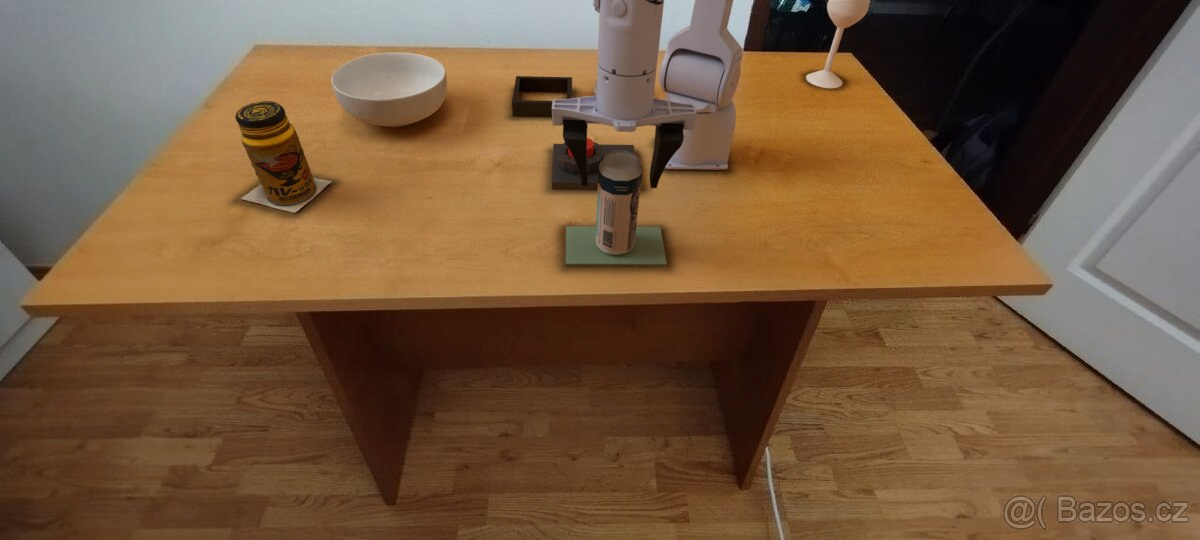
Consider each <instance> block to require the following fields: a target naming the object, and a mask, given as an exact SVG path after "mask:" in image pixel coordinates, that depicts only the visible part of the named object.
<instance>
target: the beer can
mask: <svg viewBox="0 0 1200 540" xmlns="http://www.w3.org/2000/svg"><path fill="white" fill-rule="evenodd" d="M642 178H643V165H642V164H641V162H640V159H639V158H638V157H637V155H636V154H635V155H634V154H632V153H629V152H627V151H613V152H610V153H608V154H606V155H605V157H604V158H603V160H602V161H601V163H600V164H599V170H598V190H597V193H596V194H597V195H596V219H595V227H596V239H595V241H596V245H597V246H598V248H599V249H601V250H602V251H604V252H606V253H609V254H616V255H617V254H624V253H627V252H628V251H630V250H631V249H632V248H633V246H634V244H635V235H636V227H637V224H638V215H639V205H640V196H641V195H640V194H641V185H642Z"/></svg>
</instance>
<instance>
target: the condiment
mask: <svg viewBox="0 0 1200 540" xmlns="http://www.w3.org/2000/svg"><path fill="white" fill-rule="evenodd" d="M234 119H235V121H236V122H237V124H238V129H239V130H240V132H241V134H240V139H241V144H242V146H243V148H244V149H245V153H246V155H247V157H248V159H249V161H250V164H251V166H252V168H253V170H254V173H255V176H256V177H257V179H258V181H259V184H258V186H256V187H254V188H253V189H251V190H250V191H249V192H248V193H246V194H244V195H243V196H242V197H240V200H243V201H248V202H252V203H256V204H260V205H264V206H266V207H270V208H273V209H278V210H282V211H287V212H290V213H297V212H299V210H301V209H302V208H303V207H305V206H306V205H307V204H308V203H310V202H311V201H312V200H313V199H314V198H315V197H316V196H318V195H319V194H320V193H321V192H322V191H323V190H324V189H325V188H326V187H327V186H328V185H330V183H332V180H326V179H321V178H318V177H314V176H313V174H312V171H311V167H310V165H309V163H308V161H307V157H306V155H305V151H304V148H303V146H302V144H301V141H300V138H299V137H300V136H299V135H298V132H297V131H296V128H295V127H294V125H293V124H292V123H291V122H289V121H290V120H289V117H288V116H287V114H286V110H285V108H284V107H283V106H282V105H281V104H280V103H278V102H275V101H271V100H263V101H256V102H252V103H249V104H246V105H243V106H242V107H241V108H240V109H239V110H238V111H236V113H235V117H234Z"/></svg>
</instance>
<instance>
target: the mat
mask: <svg viewBox="0 0 1200 540" xmlns="http://www.w3.org/2000/svg"><path fill="white" fill-rule="evenodd" d="M595 239H596V225H595V226H591V225H590V226H589V225H587V226H586V225H585V226H584V225H583V226H579V225H578V226H577V225H575V226H574V225H567V226H565V266H566V267H667V266H668V262H667V256H666V250H665V245H664V244H665V243H664V238H663V233H662V229H661V226H636V235H635V244H634V246H633V248H632V249H631V250H630V251H628V252H627V253H624V254H617V255H616V254H609V253H606V252H604V251H602V250H601V249H599V248H598V246H597V245H596V241H595Z"/></svg>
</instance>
